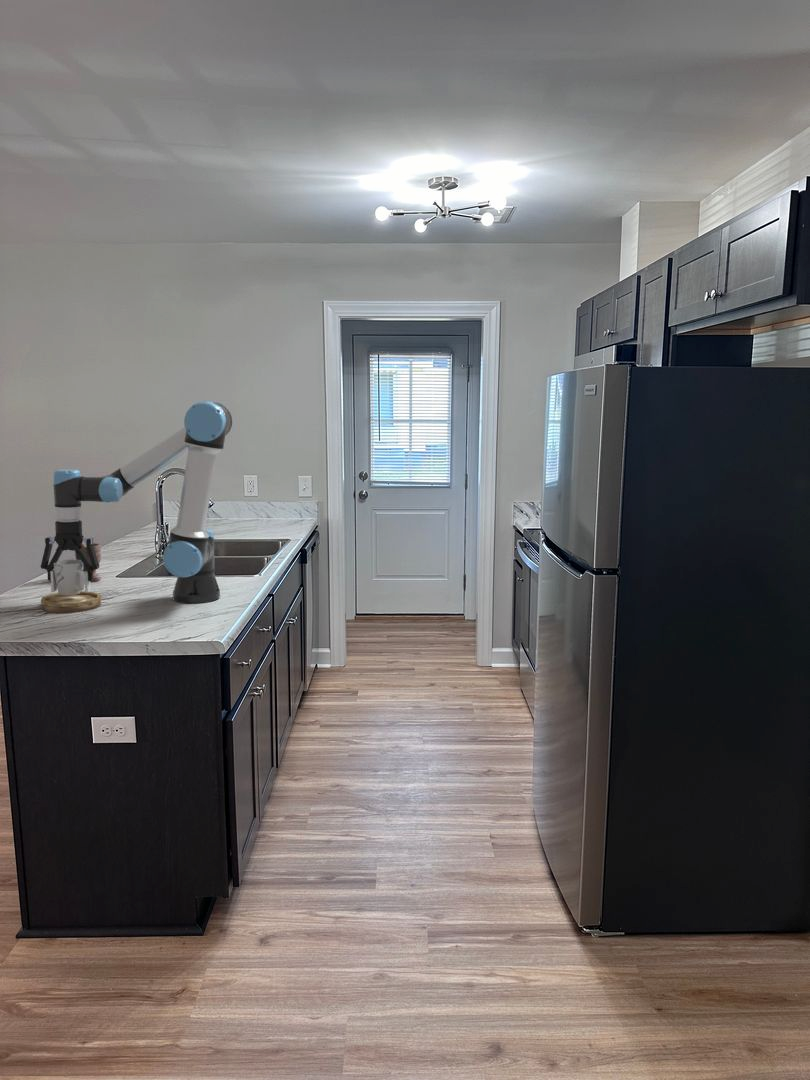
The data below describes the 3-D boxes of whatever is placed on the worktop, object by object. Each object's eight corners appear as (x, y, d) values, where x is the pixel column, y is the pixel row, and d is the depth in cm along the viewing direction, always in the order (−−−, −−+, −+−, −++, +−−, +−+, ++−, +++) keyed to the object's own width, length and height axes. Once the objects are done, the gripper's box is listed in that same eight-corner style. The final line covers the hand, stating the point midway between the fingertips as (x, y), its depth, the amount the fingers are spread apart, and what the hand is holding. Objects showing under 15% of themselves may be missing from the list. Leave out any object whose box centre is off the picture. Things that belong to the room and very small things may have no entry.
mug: (96, 594, 238) (95, 562, 237) (72, 599, 231) (71, 566, 230) (72, 589, 244) (71, 558, 243) (48, 593, 237) (47, 562, 235)
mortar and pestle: (89, 585, 268) (87, 529, 265) (66, 584, 269) (64, 528, 266) (106, 578, 279) (104, 524, 276) (84, 577, 280) (82, 523, 277)
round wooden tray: (111, 606, 239) (111, 597, 239) (57, 615, 226) (57, 606, 226) (84, 597, 250) (84, 588, 250) (32, 605, 237) (31, 597, 237)
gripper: (109, 519, 238) (111, 589, 242) (36, 517, 237) (39, 588, 241) (101, 522, 231) (103, 594, 234) (26, 520, 230) (29, 593, 233)
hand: (71, 591), depth 237 cm, fingers closed on mug, 10 cm apart
